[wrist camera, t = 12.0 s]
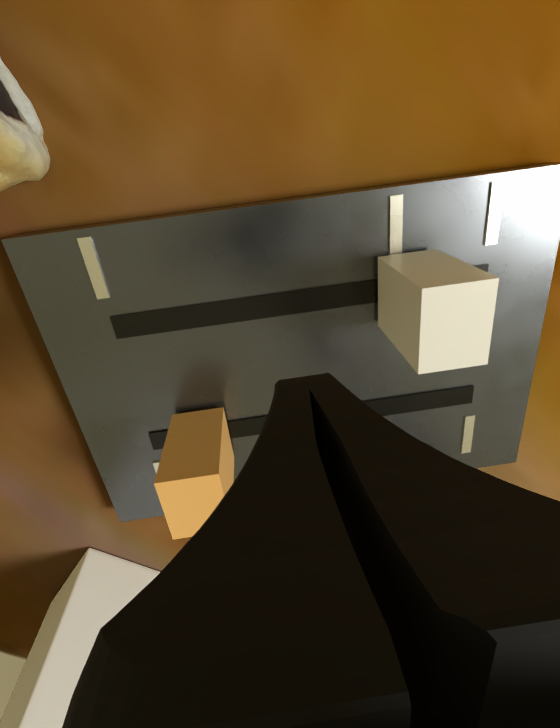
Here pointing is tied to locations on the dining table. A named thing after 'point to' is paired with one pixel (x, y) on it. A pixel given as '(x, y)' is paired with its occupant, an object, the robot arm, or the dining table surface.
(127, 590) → the milk
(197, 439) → the block
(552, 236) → the console
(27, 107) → the pastry
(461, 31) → the dining table surface
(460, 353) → the fader
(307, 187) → the dining table surface
